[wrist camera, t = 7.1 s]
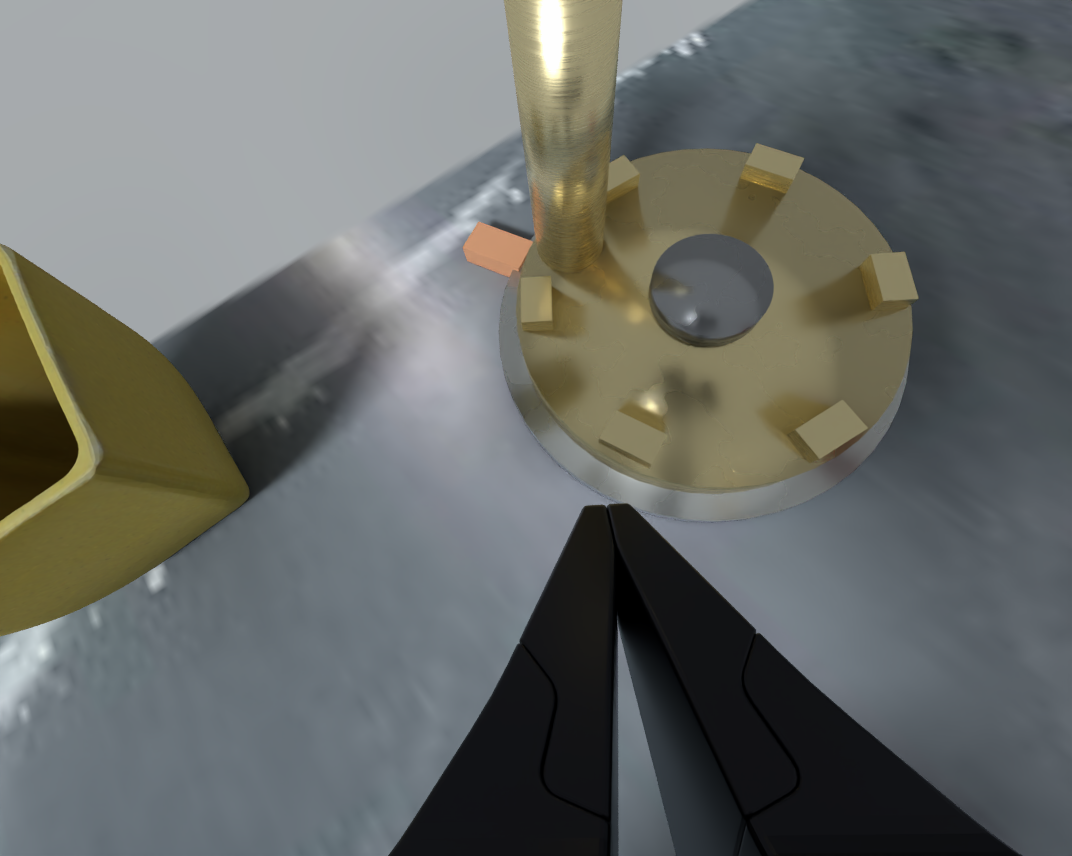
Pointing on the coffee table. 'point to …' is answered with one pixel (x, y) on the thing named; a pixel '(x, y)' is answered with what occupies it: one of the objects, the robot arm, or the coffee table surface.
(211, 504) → the flower pot
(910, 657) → the coffee table surface
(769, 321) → the crank disc
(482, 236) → the tab
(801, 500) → the base plate
